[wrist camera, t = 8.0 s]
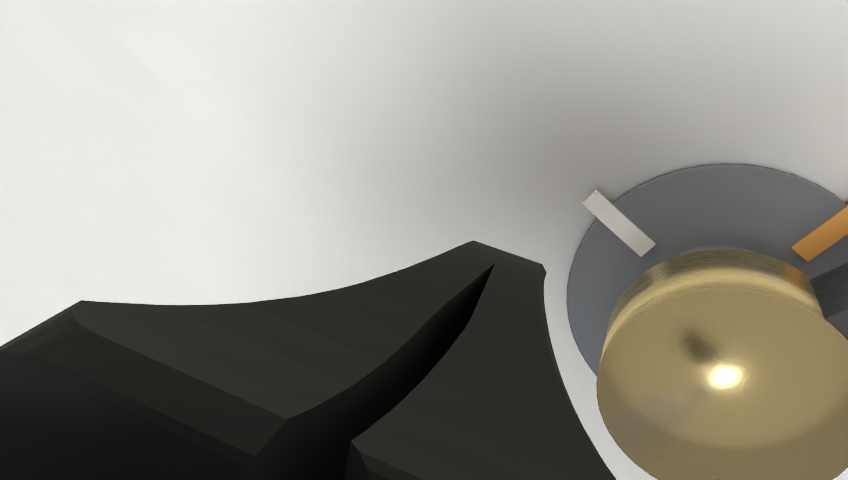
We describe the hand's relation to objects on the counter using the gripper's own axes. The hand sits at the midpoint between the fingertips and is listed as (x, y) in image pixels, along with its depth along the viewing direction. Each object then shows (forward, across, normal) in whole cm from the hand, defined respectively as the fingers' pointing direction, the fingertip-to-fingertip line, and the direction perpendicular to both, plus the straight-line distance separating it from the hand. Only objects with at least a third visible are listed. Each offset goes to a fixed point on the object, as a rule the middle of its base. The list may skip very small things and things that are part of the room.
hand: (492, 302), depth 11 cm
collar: (+7, -7, +1) cm, 10 cm away
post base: (+10, -5, +3) cm, 12 cm away
